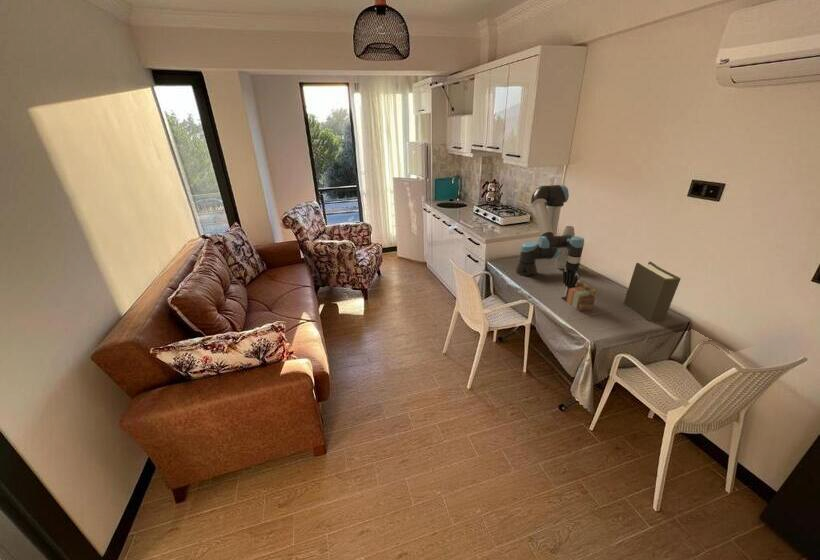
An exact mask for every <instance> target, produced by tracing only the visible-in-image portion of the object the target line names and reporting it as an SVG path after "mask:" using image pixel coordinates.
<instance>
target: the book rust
mask: <svg viewBox="0 0 820 560" xmlns="http://www.w3.org/2000/svg"><path fill="white" fill-rule="evenodd" d="M580 290H584V289H583V288H581V287H580V286H579V287H574V288H570V289H569V292H568V297H567V302H566V301H565V302H566V304H568V305H570V306H572V301H573V296H574V292H576V291H580Z"/></svg>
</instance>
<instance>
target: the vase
mask: <svg viewBox="0 0 820 560" xmlns="http://www.w3.org/2000/svg"><path fill="white" fill-rule="evenodd" d="M564 234H570V235H572V236H573V237H575V227H574V226H573V225H566V226H565V227H564V229H563V232H562V235H564ZM562 235H561V236H562ZM568 251H569V249H568V248H559V254H558V256H557V257H556V258H555V259H553V260H554V264H555V265H556V267H557V269H559V270H563V269H564V268H566V262H567V257H568Z"/></svg>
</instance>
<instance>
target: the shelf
mask: <svg viewBox="0 0 820 560" xmlns="http://www.w3.org/2000/svg"><path fill="white" fill-rule="evenodd" d="M578 285H579V286H580V287H581V288H583V289H584V290H587V291H589V292H590V295H589V296H585V297H581V298H578V303H577V307H576V308H575V310H576V311H578V312H583V311H584V312H585V311H589V310H593V308H594V305H595V299H596V295H597V294H596V292H597V289H596V288H595V289H594V287H591V286H590V285H588V284H586V283H584V282H582V281H581V280H579V279H578V280H577V283H576V285H575V286H578ZM563 292H565V284H564V285H563Z"/></svg>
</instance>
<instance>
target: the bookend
mask: <svg viewBox="0 0 820 560" xmlns="http://www.w3.org/2000/svg"><path fill="white" fill-rule="evenodd" d="M574 287H579V285H578V286H573V287H569V288H568V291H567V296H563V297H561V299H562V300H563V301H565V302H567V297H568V292H569V289H570V288H574Z"/></svg>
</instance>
